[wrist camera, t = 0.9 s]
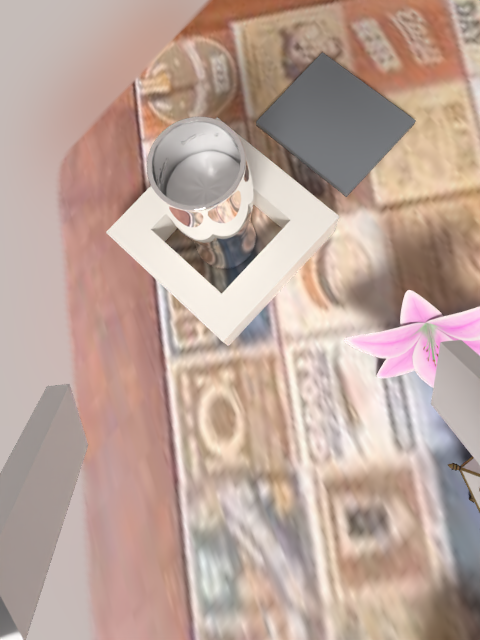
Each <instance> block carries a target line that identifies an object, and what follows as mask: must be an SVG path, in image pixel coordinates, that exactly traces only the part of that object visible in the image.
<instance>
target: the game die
mask: <svg viewBox="0 0 480 640" xmlns="http://www.w3.org/2000/svg"><path fill="white" fill-rule="evenodd" d="M448 466H449V467H450V468H451V469H452V470H453V469H454V470H455V471H456V470H459V471H460V472H461V475H462V477H463V479H464V481H465V483H466V485H467V487H468V489H469V491H470V493H471V496H470V499H469V500H470V501H472V502H473V503H474V502H475V504H476V506H477V508H478V510H479V512H480V465H479V464H478V462H477V461H476V460H475V459H474V457H473V456H472V457H471V458H469V459H468V460H467V461H466V462H465V463H463V464H462V465H461V466H459V465H457V464H454V463H452V464H449V465H448Z"/></svg>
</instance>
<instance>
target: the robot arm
mask: <svg viewBox="0 0 480 640" xmlns="http://www.w3.org/2000/svg"><path fill="white" fill-rule="evenodd" d="M431 405H432V406H433V407H434V408H435V410H436V411H437V412H438V413H439V415H440V416H441V417H442V418H443V420H444V421H445V422H446V423H447V425H448V426H449V427H450V428H451V430H452V431H453V432H454V433H455V435H456V436H457V437H458V438H459V440H460V441H461V442H462V443H463V445H464V446H465V447H466V449H467V450H468V451H469V452H470V454H471V455H472V456H473V457H474V459H475V460H476V461H477V462H478V464H479V465H480V356H479V355H478V354H477V353H476V352H475V351H474V350H472V349H471V348H470V347H469V346H468V345H467V344H465V343H464V342H463V341H462V340H454V341H445V342H440V348H439V354H438V361H437V368H436V374H435V381H434V387H433V394H432V401H431ZM87 447H88V443H87V440H86V436H85V433H84V430H83V426H82V423H81V420H80V417H79V413H78V410H77V407H76V403H75V400H74V397H73V393H72V390H71V387H70V384H64V385H55V386H47V387H46V389H45V391H44V393H43V395H42V397H41V399H40V401H39V402H38V404H37V406H36V408H35V410H34V412H33V413H32V415H31V417H30V419H29V421H28V423H27V425H26V427H25V429H24V430H23V432H22V434H21V436H20V438H19V440H18V442H17V443H16V445H15V447H14V449H13V451H12V453H11V455H10V456H9V458H8V460H7V462H6V464H5V466H4V467H3V469H2V471H1V473H0V640H26V638H27V635H28V631H29V628H30V625H31V622H32V619H33V616H34V612H35V610H36V606H37V603H38V600H39V597H40V593H41V591H42V588H43V585H44V581H45V578H46V575H47V572H48V569H49V566H50V563H51V560H52V556H53V553H54V550H55V547H56V544H57V541H58V538H59V534H60V531H61V528H62V525H63V522H64V519H65V516H66V512H67V510H68V507H69V503H70V500H71V497H72V494H73V491H74V488H75V485H76V482H77V478H78V475H79V472H80V469H81V466H82V463H83V460H84V457H85V453H86V450H87Z"/></svg>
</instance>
